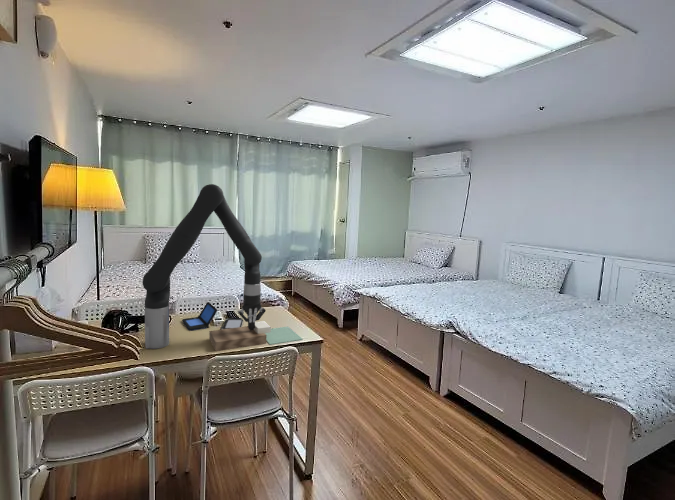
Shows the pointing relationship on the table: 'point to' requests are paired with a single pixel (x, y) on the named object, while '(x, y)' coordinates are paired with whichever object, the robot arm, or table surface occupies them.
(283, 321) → the table surface
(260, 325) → the tile
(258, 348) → the table surface
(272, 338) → the mat
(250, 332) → the block
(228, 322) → the gaming console
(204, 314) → the handheld game console
